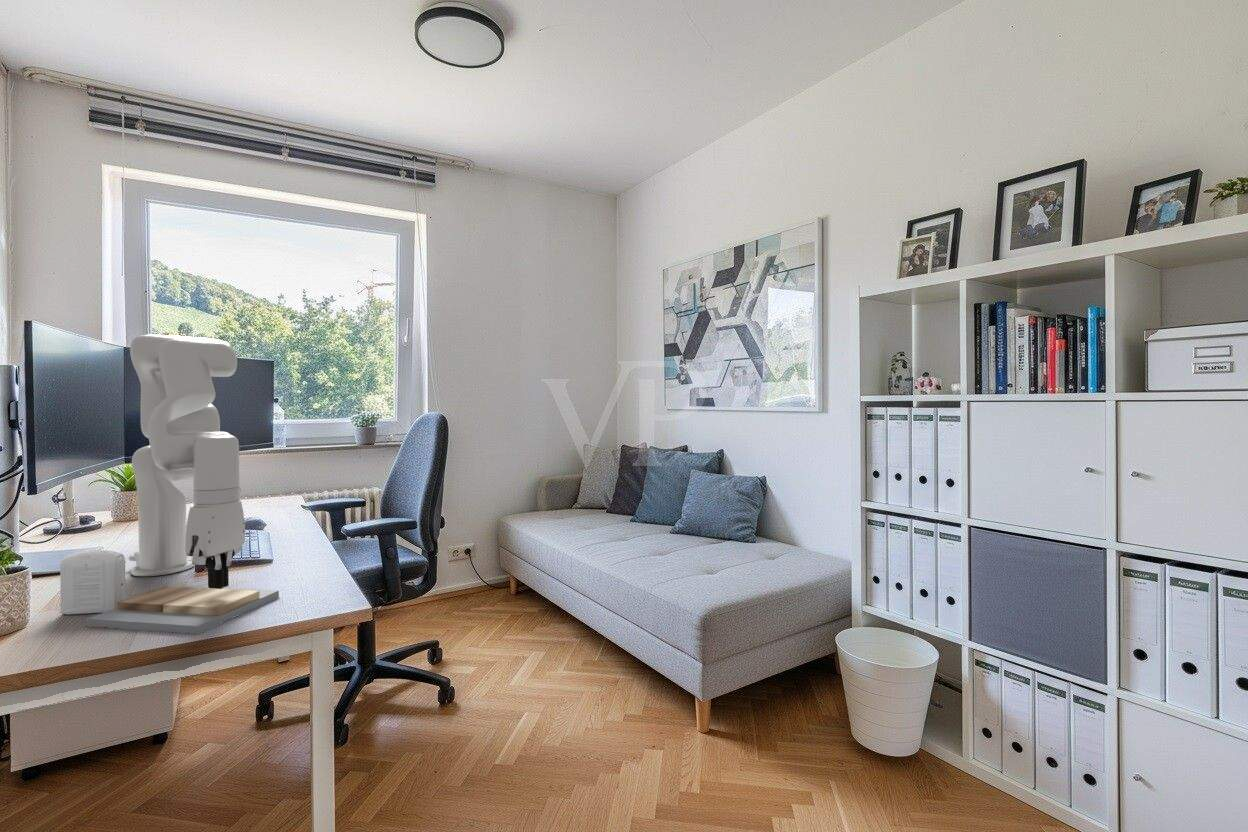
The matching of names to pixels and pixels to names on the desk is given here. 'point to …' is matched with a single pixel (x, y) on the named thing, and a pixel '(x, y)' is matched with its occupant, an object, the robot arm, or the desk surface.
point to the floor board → (174, 617)
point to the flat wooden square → (156, 598)
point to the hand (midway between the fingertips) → (218, 587)
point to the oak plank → (211, 601)
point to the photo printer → (92, 581)
